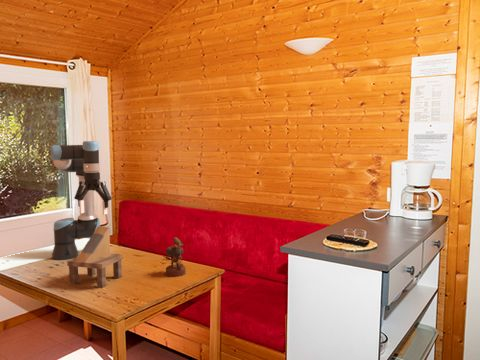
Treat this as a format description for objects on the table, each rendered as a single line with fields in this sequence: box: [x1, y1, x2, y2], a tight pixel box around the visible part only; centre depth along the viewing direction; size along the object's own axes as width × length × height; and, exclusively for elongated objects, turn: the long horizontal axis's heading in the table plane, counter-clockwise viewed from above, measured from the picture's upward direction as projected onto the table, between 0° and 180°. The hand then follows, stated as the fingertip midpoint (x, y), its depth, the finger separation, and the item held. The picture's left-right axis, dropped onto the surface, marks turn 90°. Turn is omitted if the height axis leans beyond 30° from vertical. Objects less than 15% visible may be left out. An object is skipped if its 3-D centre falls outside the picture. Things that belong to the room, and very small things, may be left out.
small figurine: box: [163, 237, 187, 278], centre depth 223 cm, size 15×11×20 cm
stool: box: [66, 252, 124, 289], centre depth 214 cm, size 20×18×12 cm
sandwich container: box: [75, 225, 111, 263], centre depth 211 cm, size 9×15×15 cm, turn 148°
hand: (93, 213), depth 211 cm, fingers open, 13 cm apart
